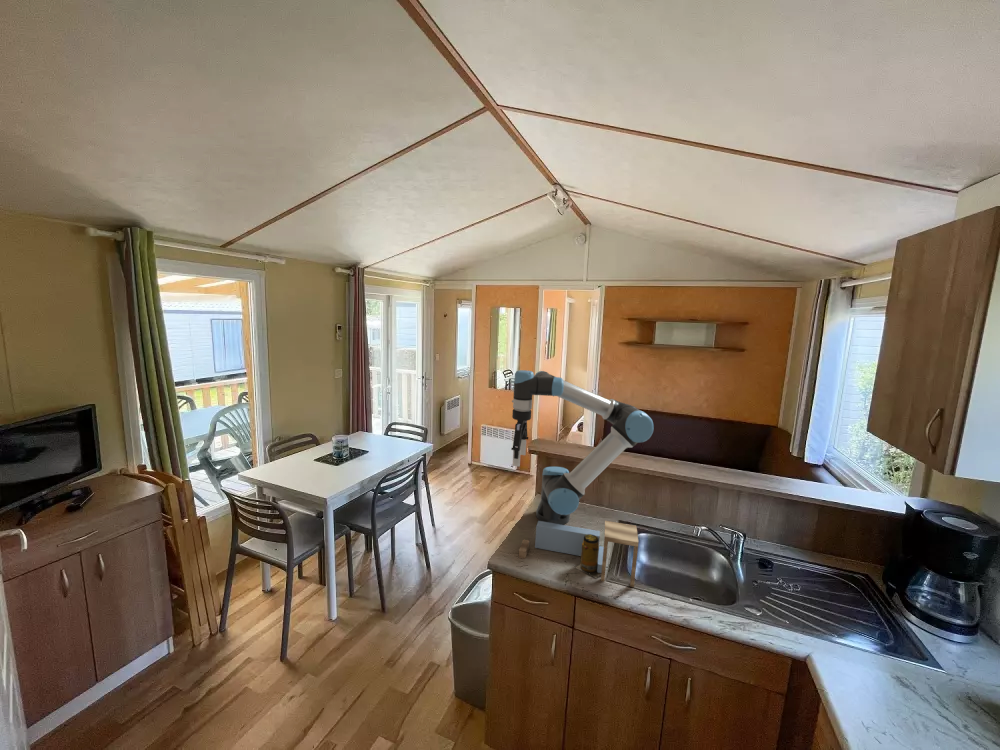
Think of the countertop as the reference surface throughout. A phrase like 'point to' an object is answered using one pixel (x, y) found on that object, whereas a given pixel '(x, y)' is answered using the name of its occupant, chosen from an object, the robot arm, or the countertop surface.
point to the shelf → (622, 536)
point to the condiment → (589, 555)
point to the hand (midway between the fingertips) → (519, 460)
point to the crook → (564, 539)
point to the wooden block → (524, 548)
